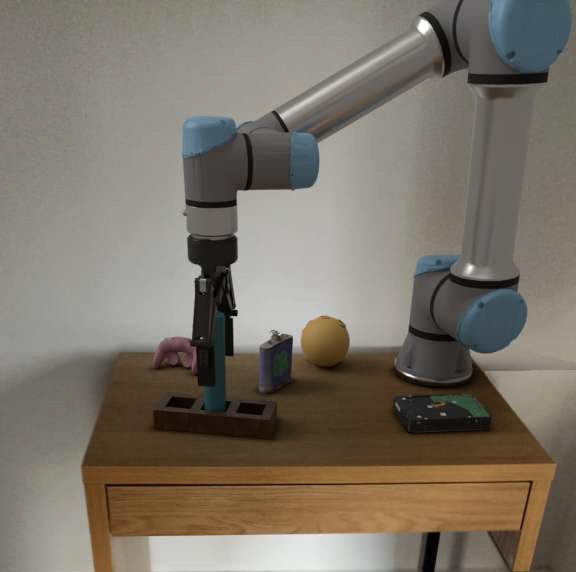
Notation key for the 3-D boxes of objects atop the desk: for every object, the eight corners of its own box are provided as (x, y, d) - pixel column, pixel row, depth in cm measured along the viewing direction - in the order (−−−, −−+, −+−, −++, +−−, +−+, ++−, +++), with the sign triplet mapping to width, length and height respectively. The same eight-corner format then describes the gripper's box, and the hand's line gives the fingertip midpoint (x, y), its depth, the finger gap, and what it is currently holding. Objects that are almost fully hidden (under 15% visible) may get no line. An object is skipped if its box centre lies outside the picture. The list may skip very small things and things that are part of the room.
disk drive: (408, 435, 127) (491, 430, 129) (410, 420, 125) (494, 415, 127) (391, 409, 135) (469, 405, 137) (392, 395, 134) (471, 391, 136)
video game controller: (204, 377, 149) (209, 341, 149) (195, 374, 145) (201, 338, 144) (159, 370, 152) (164, 335, 151) (149, 367, 147) (154, 331, 147)
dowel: (228, 420, 129) (226, 311, 119) (223, 429, 126) (221, 318, 116) (207, 419, 129) (204, 310, 119) (202, 427, 126) (199, 316, 116)
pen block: (276, 420, 130) (277, 401, 128) (269, 439, 123) (269, 420, 122) (166, 410, 132) (165, 391, 130) (154, 428, 125) (152, 409, 124)
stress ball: (353, 372, 150) (357, 323, 144) (305, 375, 148) (307, 325, 143) (340, 355, 158) (344, 308, 153) (295, 357, 156) (296, 309, 151)
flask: (266, 395, 139) (267, 338, 133) (254, 391, 140) (254, 335, 135) (294, 380, 145) (296, 326, 140) (281, 376, 147) (283, 323, 141)
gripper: (207, 216, 122) (211, 342, 133) (163, 252, 101) (173, 398, 112) (252, 219, 121) (253, 345, 133) (218, 255, 100) (222, 402, 112)
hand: (216, 370), depth 123 cm, fingers open, 13 cm apart
